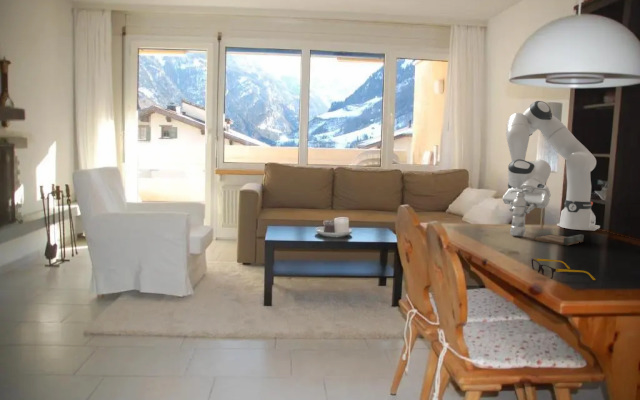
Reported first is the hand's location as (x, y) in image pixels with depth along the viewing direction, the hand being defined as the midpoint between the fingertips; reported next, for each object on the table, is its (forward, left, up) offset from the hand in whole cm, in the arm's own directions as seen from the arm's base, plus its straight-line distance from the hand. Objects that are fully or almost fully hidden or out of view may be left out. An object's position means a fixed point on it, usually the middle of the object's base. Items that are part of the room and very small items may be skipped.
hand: (518, 211), depth 230 cm
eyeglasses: (+54, +44, -12) cm, 70 cm away
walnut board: (-7, +16, -11) cm, 21 cm away
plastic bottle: (-1, 0, -12) cm, 12 cm away
